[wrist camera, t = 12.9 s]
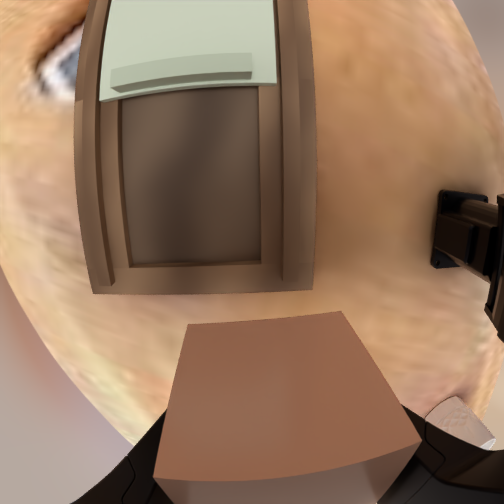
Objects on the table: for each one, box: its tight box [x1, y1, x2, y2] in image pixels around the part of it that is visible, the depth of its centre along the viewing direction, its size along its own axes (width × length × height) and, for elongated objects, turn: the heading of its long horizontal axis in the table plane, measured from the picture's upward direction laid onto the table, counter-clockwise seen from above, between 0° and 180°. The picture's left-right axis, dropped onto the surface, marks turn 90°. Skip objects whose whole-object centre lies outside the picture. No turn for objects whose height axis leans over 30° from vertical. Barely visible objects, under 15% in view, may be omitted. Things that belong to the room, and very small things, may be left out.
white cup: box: [425, 396, 496, 450], centre depth 23 cm, size 8×8×10 cm
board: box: [74, 0, 317, 295], centre depth 15 cm, size 16×28×2 cm, turn 1°
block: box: [153, 311, 422, 504], centre depth 7 cm, size 5×5×6 cm
